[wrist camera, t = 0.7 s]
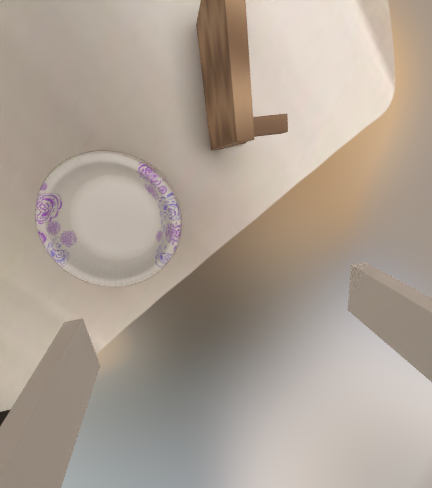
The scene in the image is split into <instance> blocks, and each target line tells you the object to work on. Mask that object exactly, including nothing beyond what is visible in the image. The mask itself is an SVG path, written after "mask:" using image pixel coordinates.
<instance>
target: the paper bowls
mask: <svg viewBox="0 0 432 488" xmlns="http://www.w3.org/2000/svg"><path fill="white" fill-rule="evenodd" d="M35 218H36V225H37V230H38V234H39V237H40V239H41V241H42V243H43V245H44V247H45V248H46V250H47V252H48V253H49V255H50V256H51V257H52V259H53V260H54V261H55V262H56V263H57V264H58V265H59V266H60V267H62V268H63V269H64V270H65V271H67V272H68V273H70V274H71V275H73V276H75V277H76V278H78V279H80V280H83V281H85V282H88V283H91V284H95V285H99V286H106V287H121V286H129V285H133V284H136V283H139V282H142V281H144V280H146V279H148V278H150V277H152V276H153V275H155V274H156V273H158V272H159V271H160V270H161V269H162V268H163V267H164V266H165V265H166V264H167V263H168V262H169V260H170V259H171V257H172V256H173V254H174V253H175V251H176V248H177V246H178V243H179V240H180V236H181V224H182V218H181V211H180V206H179V203H178V199H177V197H176V195H175V193H174V191H173V189H172V187H171V186H170V184H169V183H168V181H167V180H166V178H165V177H164V176H163V175H162V174H161V173H160V172H159V171H158V170H157V169H156V168H155V167H153V166H152V165H150V164H148V163H147V162H145V161H143V160H141V159H139V158H137V157H134V156H131V155H127V154H124V153H120V152H114V151H92V152H86V153H82V154H80V155H77V156H74V157H72V158H69V159H67V160H66V161H64V162H62V163H61V164H60V165H58V166H57V167H56V168H55V169H54V170H53V171H52V172H51V173H50V174H49V175H48V177H47V178H46V179H45V181H44V183H43V185H42V187H41V189H40V191H39V193H38V197H37V202H36V209H35Z"/></svg>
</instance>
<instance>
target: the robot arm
mask: <svg viewBox="0 0 432 488" xmlns="http://www.w3.org/2000/svg"><path fill="white" fill-rule="evenodd" d="M348 311H350V312H351V313H352V314H353V315H354V316H355V317H357V318H358V319H359V320H360V321H361V322H362V323H364V324H365V325H366V326H367V327H368V328H369V329H370V330H372V331H373V332H374V333H375V334H377V336H379V337H380V338H381V339H382V340H383V341H385V342H386V343H387V344H388V345H389V346H390V347H391V348H393V349H394V350H395V351H396V352H397V353H399V354H400V355H401V356H402V357H403V358H404V359H406V360H407V361H408V362H409V363H410V364H411V365H412V366H414V367H415V368H416V369H417V370H418V371H419V372H421V373H422V374H423V375H424V376H426V378H428V379H429V380H430V381H431V382H432V298H430V297H429V296H426V295H425V294H423V293H421V292H419V291H417V290H416V289H414V288H412V287H410V286H408V285H406V284H404V283H403V282H401V281H399V280H397V279H395V278H393V277H392V276H390V275H388V274H386V273H384V272H382V271H380V270H379V269H376V268H375V267H373V266H371V265H369V264H367V263H365V262H362V263H357V264H352V265H351V274H350V288H349V300H348ZM99 368H100V364H99V362H98V359H97V356H96V353H95V351H94V348H93V345H92V342H91V340H90V337H89V334H88V332H87V329H86V326H85V323H84V321H83V319H78V320H73V321H68V322H65V323H64V324H63V326H62V327H61V329H60V331H59V332H58V334H57V335H56V337H55V339H54V340H53V342H52V344H51V345H50V347H49V348H48V350H47V352H46V353H45V355H44V357H43V358H42V360H41V361H40V363H39V365H38V366H37V368H36V370H35V371H34V373H33V374H32V376H31V378H30V379H29V381H28V382H27V384H26V386H25V387H24V389H23V391H22V392H21V394H20V395H19V397H18V399H17V400H16V402H15V404H14V405H13V407H12V408H11V410H7V411H2V412H0V488H61V486H62V483H63V479H64V477H65V473H66V470H67V467H68V464H69V461H70V458H71V455H72V452H73V449H74V445H75V442H76V439H77V436H78V433H79V430H80V427H81V423H82V420H83V417H84V414H85V411H86V408H87V405H88V402H89V398H90V396H91V392H92V389H93V386H94V383H95V380H96V377H97V374H98V371H99Z"/></svg>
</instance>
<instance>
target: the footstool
mask: <svg viewBox="0 0 432 488" xmlns="http://www.w3.org/2000/svg"><path fill="white" fill-rule="evenodd" d="M196 25H197V33H198V42H199V51H200V59H201V68H202V76H203V85H204V93H205V102H206V111H207V119H208V128H209V136H210V145H211V150H216V149H223V148H226V147H230V146H233V145H238V144H245V143H246V142H247V141H251V140H254V137H256V136H264V135H273V134H281V133H285V132H288V122H287V114H279V115H269V116H260V117H253V112H252V97H251V81H250V66H249V50H248V34H247V19H246V3H245V0H201V3H200V8H199V13H198V19H197V24H196Z"/></svg>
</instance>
